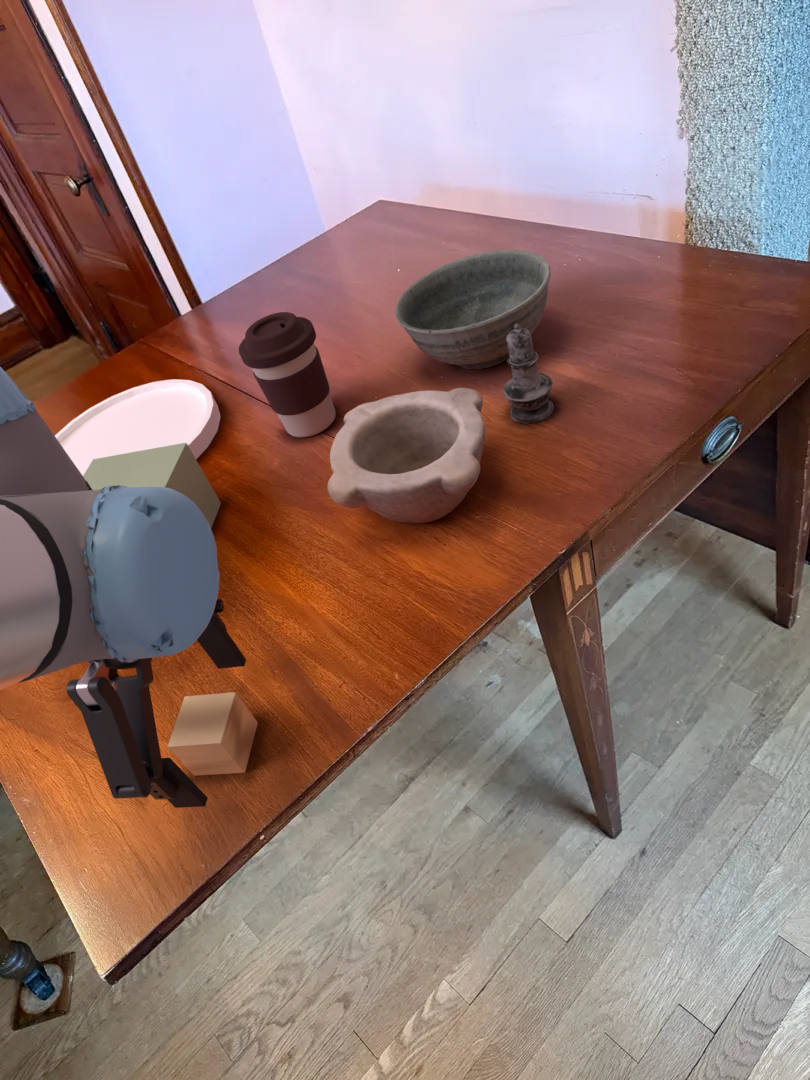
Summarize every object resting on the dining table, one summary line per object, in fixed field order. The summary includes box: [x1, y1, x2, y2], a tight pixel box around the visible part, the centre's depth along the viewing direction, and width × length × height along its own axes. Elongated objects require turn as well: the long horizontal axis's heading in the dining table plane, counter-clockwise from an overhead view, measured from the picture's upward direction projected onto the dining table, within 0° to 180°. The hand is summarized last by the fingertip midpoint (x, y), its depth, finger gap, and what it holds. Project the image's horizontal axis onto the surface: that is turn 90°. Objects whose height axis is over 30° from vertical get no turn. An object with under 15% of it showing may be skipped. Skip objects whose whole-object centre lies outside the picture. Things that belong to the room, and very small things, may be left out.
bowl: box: [394, 249, 552, 370], centre depth 101 cm, size 21×21×10 cm
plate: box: [54, 378, 221, 476], centre depth 110 cm, size 28×28×2 cm
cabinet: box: [83, 443, 222, 529], centre depth 88 cm, size 15×13×10 cm
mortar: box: [326, 387, 486, 524], centre depth 82 cm, size 17×17×9 cm
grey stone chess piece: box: [502, 323, 555, 425], centre depth 87 cm, size 6×6×12 cm
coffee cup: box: [238, 311, 336, 438], centre depth 98 cm, size 10×10×15 cm
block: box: [167, 691, 258, 777], centre depth 65 cm, size 5×5×5 cm
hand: (213, 728), depth 65 cm, fingers open, 13 cm apart
